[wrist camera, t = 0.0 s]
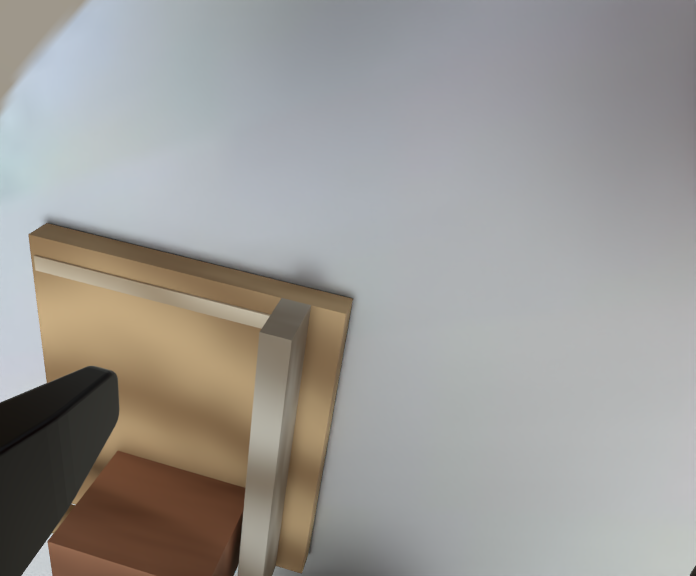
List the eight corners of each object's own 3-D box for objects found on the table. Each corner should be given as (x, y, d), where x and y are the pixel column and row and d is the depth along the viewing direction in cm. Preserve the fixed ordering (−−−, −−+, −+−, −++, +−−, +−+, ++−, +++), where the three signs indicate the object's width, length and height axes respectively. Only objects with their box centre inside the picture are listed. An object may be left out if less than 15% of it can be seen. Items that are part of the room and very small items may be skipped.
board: (308, 554, 34) (286, 618, 31) (74, 483, 35) (31, 537, 32) (353, 298, 26) (329, 350, 22) (46, 223, 27) (-15, 261, 24)
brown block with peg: (247, 544, 33) (201, 646, 28) (51, 484, 34) (-24, 573, 29) (252, 490, 31) (204, 590, 26) (43, 429, 32) (-38, 514, 27)
